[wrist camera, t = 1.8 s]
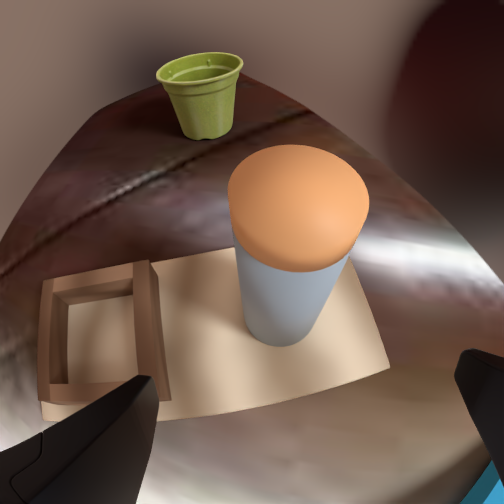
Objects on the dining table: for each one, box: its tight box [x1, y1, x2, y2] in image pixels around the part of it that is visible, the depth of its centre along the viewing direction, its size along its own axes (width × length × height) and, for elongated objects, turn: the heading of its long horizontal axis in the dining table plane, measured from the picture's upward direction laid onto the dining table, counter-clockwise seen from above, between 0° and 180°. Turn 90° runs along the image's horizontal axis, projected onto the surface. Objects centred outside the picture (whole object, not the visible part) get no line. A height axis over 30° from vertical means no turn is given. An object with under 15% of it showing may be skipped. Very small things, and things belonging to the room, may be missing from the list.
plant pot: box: [156, 52, 243, 140], centre depth 30 cm, size 9×9×9 cm
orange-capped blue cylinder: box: [228, 145, 369, 347], centre depth 15 cm, size 5×5×12 cm
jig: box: [37, 247, 390, 422], centre depth 19 cm, size 26×12×4 cm, turn 102°
